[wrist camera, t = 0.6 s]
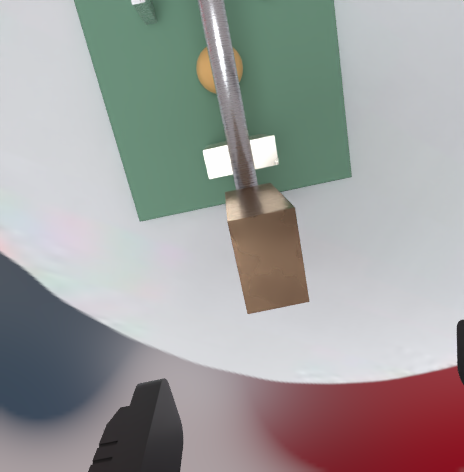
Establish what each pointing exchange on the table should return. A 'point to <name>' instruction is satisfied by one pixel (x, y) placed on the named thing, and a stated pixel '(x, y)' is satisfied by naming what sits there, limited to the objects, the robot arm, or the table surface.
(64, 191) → the table surface
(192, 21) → the pitch
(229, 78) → the rod
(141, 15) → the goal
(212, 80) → the ball
